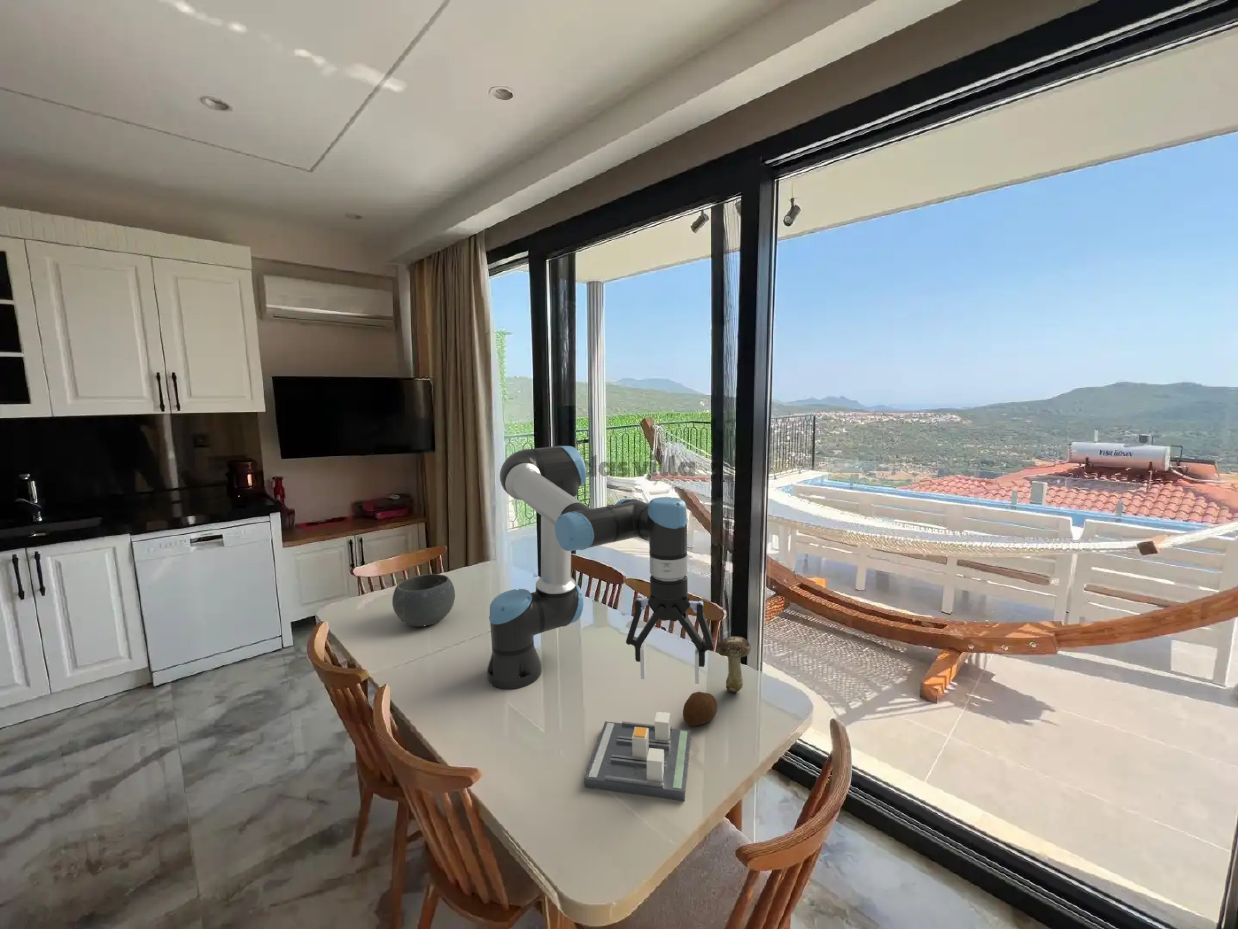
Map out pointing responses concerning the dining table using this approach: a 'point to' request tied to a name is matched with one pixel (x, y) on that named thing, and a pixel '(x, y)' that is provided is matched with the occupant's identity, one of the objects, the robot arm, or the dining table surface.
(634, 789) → the panel
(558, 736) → the dining table surface
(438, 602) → the bowl
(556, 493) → the robot arm
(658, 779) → the breaker
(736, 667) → the mushroom
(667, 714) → the block
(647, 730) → the block
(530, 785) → the dining table surface
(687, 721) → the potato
